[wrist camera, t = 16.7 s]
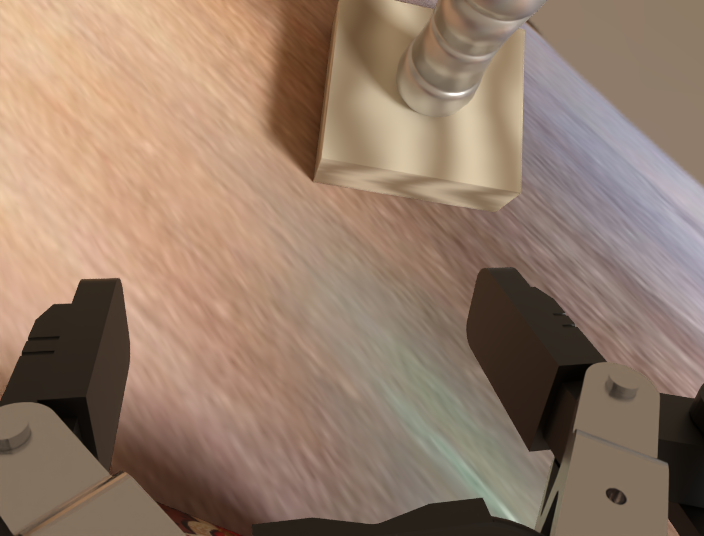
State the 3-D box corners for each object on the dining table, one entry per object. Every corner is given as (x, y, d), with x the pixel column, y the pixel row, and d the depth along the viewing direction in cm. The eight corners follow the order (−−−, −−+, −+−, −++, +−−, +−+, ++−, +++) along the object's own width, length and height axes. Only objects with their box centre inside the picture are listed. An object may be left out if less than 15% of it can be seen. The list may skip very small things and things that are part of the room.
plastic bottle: (395, 49, 50) (494, -174, 31) (469, 70, 51) (609, -135, 32) (384, 115, 49) (482, -78, 30) (461, 135, 50) (604, -40, 30)
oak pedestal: (313, 181, 51) (321, 158, 47) (332, 25, 55) (341, -12, 51) (495, 212, 54) (521, 192, 49) (500, 61, 58) (524, 29, 53)
